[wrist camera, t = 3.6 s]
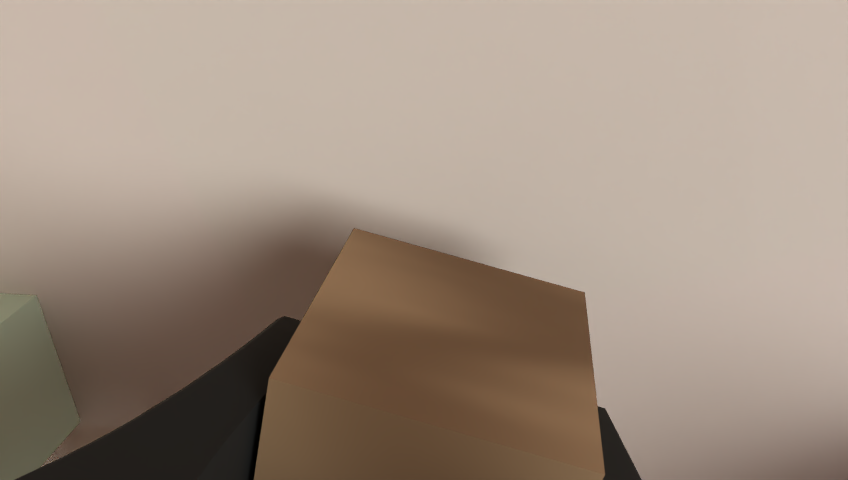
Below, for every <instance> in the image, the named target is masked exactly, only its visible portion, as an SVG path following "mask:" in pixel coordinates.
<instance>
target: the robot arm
mask: <svg viewBox="0 0 848 480" xmlns="http://www.w3.org/2000/svg"><path fill="white" fill-rule="evenodd" d="M300 322H301V321H299V320H296V319H292V318H289V317H285V316H284V317H282V318H280V319H278V320H276V321H275V322H273V323H272V324H271V325H270V326H268V327H267V328H266V329H265V330H263V331H262V332H261V333H260V334H258V335H257V336H256V337H255V338H253V339H252V340H251V341H249V342H248V343H247V344H245V345H244V346H243V347H241V348H240V349H239V350H237V351H236V352H235V353H233V354H232V355H231V356H229V357H228V358H227V359H225V360H224V361H222V362H221V363H220V364H218V365H217V366H215V367H214V368H212V369H211V370H209V371H208V372H207V373H205V374H204V375H202V376H201V377H199V378H198V379H197V380H195V381H194V382H192V383H191V384H189V385H188V386H186V387H185V388H183V389H182V390H180V391H179V392H177V393H175V394H174V395H172V396H171V397H169V398H167V399H166V400H164V401H162V402H161V403H159V404H158V405H156V406H154V407H153V408H151V409H150V410H148V411H146V412H145V413H143V414H141V415H140V416H138V417H137V418H135V419H133V420H131V421H130V422H128V423H126V424H124V425H123V426H121V427H119V428H117V429H116V430H114V431H112V432H110V433H108V434H107V435H105V436H103V437H101V438H99V439H97V440H95V441H93V442H91V443H90V444H88V445H86V446H84V447H82V448H80V449H78V450H76V451H74V452H72V453H70V454H68V455H66V456H64V457H62V458H60V459H58V460H56V461H54V462H51V463H49V464H47V465H45V466H43V467H41V468H38V469H36V470H34V471H32V472H30V473H28V474H26V475H23V476H21V477H19V478H17V479H15V480H254V475H255V468H256V461H257V455H258V448H259V441H260V434H261V428H262V421H263V414H264V408H265V401H266V394H267V387H268V381H269V377H270V375H271V373H272V372H273V370H274V368H275V366H276V365H277V363H278V361H279V359H280V358H281V356H282V354H283V352H284V351H285V349H286V347H287V345H288V344H289V342H290V340H291V338H292V336H293V335H294V333H295V331H296V329H297V328H298V326H299V324H300ZM597 407H598V406H597ZM598 416H599V425H600V434H601V443H602V452H603V461H604V470H605V476H604V478H603V480H641V478H640V476H639V474H638V472H637V470H636V468H635V466H634V464H633V462H632V460H631V458H630V456H629V454H628V453H627V451H626V449H625V447H624V445H623V443H622V441H621V439H620V437H619V435H618V433H617V431H616V429H615V427H614V425H613V423H612V421H611V419H610V417H609V415H608V413H607V411H606V410H605V408H602V407H598Z"/></svg>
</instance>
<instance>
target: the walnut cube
mask: <svg viewBox="0 0 848 480" xmlns="http://www.w3.org/2000/svg"><path fill="white" fill-rule="evenodd" d="M604 476H605V470H604V461H603V452H602V443H601V434H600V425H599V416H598V407H597V398H596V389H595V380H594V371H593V363H592V354H591V345H590V336H589V327H588V318H587V309H586V300H585V293H584V292H581V291H577V290H574V289H570V288H566V287H563V286H559V285H556V284H552V283H549V282H545V281H541V280H538V279H534V278H531V277H527V276H523V275H520V274H516V273H513V272H509V271H506V270H502V269H498V268H495V267H491V266H488V265H484V264H481V263H477V262H473V261H470V260H466V259H463V258H459V257H455V256H452V255H448V254H445V253H441V252H438V251H434V250H430V249H427V248H423V247H420V246H416V245H412V244H409V243H405V242H402V241H398V240H395V239H391V238H387V237H384V236H380V235H377V234H373V233H369V232H366V231H362V230H359V229H355V228H354V229H353V231H352V233H351V235H350V236H349V238H348V240H347V242H346V243H345V245H344V247H343V249H342V250H341V252H340V254H339V256H338V257H337V259H336V261H335V263H334V264H333V266H332V268H331V270H330V271H329V273H328V275H327V277H326V279H325V280H324V282H323V284H322V286H321V287H320V289H319V291H318V293H317V294H316V296H315V298H314V300H313V301H312V303H311V305H310V307H309V308H308V310H307V312H306V314H305V315H304V317H303V319H302V321H301V322H300V324H299V326H298V328H297V329H296V331H295V333H294V335H293V336H292V338H291V340H290V342H289V344H288V345H287V347H286V349H285V351H284V352H283V354H282V356H281V358H280V359H279V361H278V363H277V365H276V366H275V368H274V370H273V372H272V373H271V375H270V377H269V381H268V387H267V394H266V401H265V408H264V414H263V421H262V428H261V434H260V441H259V448H258V455H257V461H256V468H255V475H254V480H603V478H604Z"/></svg>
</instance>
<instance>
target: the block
mask: <svg viewBox="0 0 848 480" xmlns="http://www.w3.org/2000/svg"><path fill="white" fill-rule="evenodd" d="M79 423H80V418H79V416H78V413H77V410H76V407H75V404H74V401H73V398H72V395H71V393H70V390H69V387H68V384H67V381H66V378H65V375H64V373H63V370H62V367H61V364H60V361H59V358H58V355H57V352H56V350H55V347H54V344H53V341H52V338H51V335H50V332H49V330H48V327H47V324H46V321H45V318H44V315H43V312H42V309H41V307H40V304H39V301H38V298H37V295H23V294H4V293H0V480H15V479H17V478H19V477H21V476H23V475H26V474H28V473H30V472H32V471H34V470H36V469H38V468H40V467H41V466H42V465H43V464H44V462H45V461H46V460H47V459H48V458H49V457H50V456H51V454H52V453H53V452H54V451H55V450H56V449H57V448H58V446H59V445H60V444H61V443H62V442H63V441H64V440H65V438H66V437H67V436H68V435H69V434H70V433H71V432H72V430H73V429H74V428H75V427H76V426H77V425H78V424H79Z"/></svg>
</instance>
